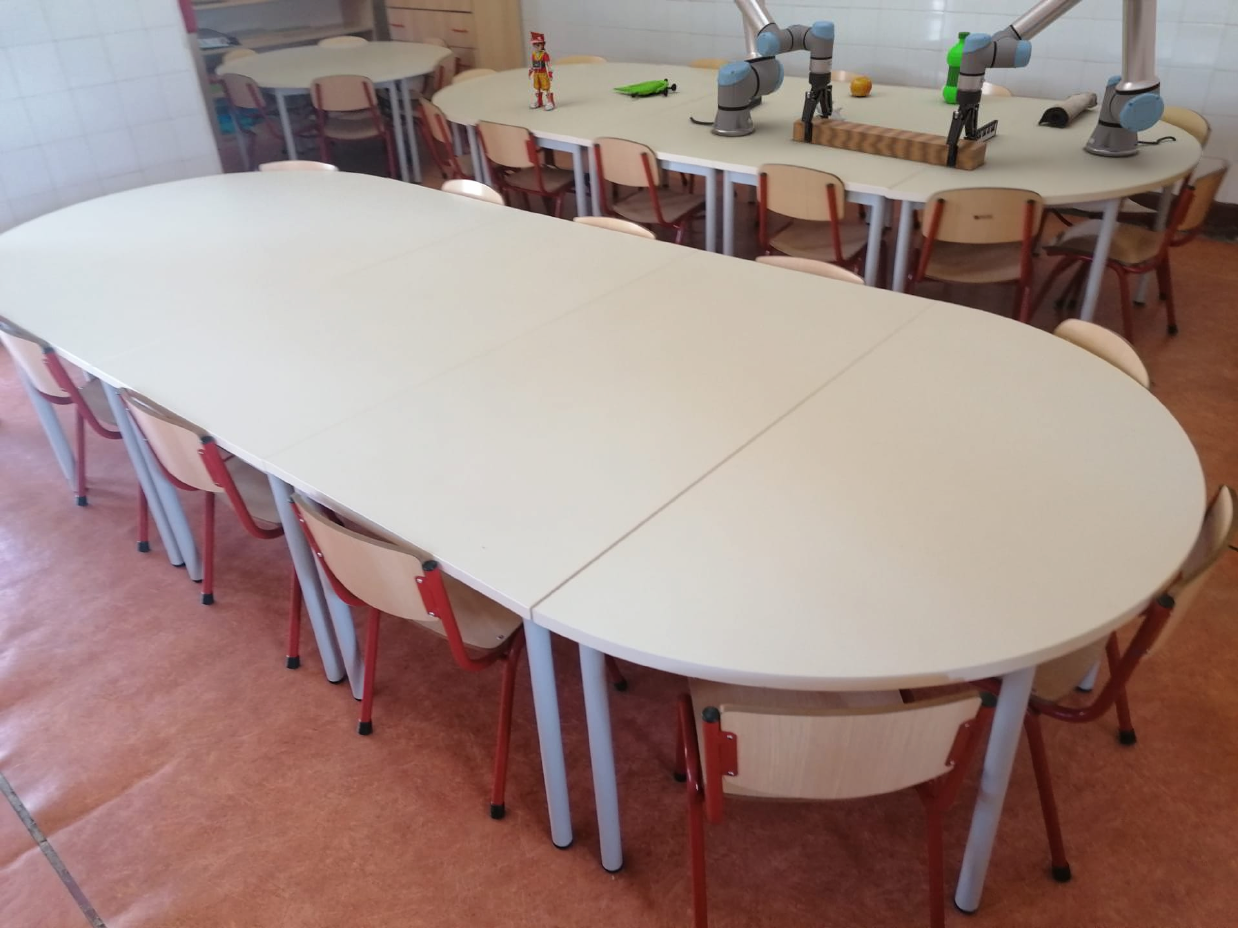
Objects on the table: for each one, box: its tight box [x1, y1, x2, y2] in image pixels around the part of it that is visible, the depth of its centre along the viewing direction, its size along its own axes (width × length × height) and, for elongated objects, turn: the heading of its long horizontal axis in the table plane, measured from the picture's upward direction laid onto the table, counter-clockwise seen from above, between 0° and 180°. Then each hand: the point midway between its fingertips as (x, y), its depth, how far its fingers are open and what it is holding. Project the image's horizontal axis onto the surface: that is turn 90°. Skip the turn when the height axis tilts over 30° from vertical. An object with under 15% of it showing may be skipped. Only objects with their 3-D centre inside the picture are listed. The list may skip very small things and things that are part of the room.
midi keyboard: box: [972, 119, 999, 142], centre depth 308 cm, size 18×1×5 cm, turn 138°
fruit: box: [849, 76, 873, 97], centre depth 369 cm, size 8×8×8 cm
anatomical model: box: [815, 100, 847, 121], centre depth 342 cm, size 15×10×10 cm
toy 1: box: [527, 31, 556, 111], centre depth 374 cm, size 12×9×30 cm
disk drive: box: [749, 96, 763, 110], centre depth 366 cm, size 10×3×15 cm
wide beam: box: [792, 116, 988, 171], centre depth 305 cm, size 67×9×6 cm, turn 47°
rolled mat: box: [1037, 91, 1098, 128], centre depth 327 cm, size 30×9×10 cm
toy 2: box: [612, 78, 677, 99], centre depth 396 cm, size 28×5×30 cm
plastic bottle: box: [942, 31, 971, 104], centre depth 348 cm, size 10×10×25 cm
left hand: (815, 138), depth 322 cm, fingers closed on wide beam, 9 cm apart
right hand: (957, 161), depth 291 cm, fingers closed on wide beam, 9 cm apart
